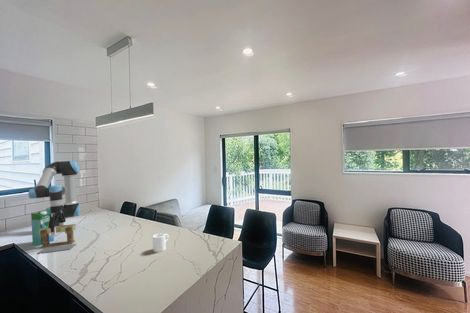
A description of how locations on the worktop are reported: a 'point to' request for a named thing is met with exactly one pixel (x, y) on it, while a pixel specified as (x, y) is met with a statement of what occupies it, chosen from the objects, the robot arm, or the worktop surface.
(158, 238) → the mug
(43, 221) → the milk carton
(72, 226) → the rail
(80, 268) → the worktop surface
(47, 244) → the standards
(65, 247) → the mat
